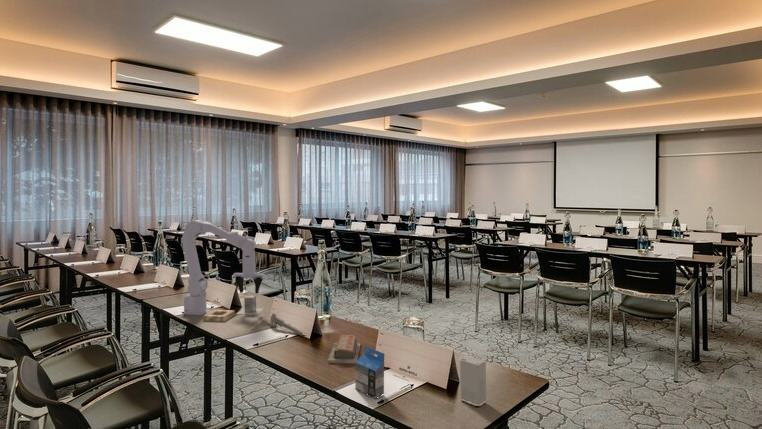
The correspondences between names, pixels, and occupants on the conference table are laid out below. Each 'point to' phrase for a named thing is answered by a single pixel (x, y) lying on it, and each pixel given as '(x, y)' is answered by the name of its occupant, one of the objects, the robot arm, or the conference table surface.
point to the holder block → (219, 315)
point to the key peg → (250, 303)
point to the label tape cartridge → (370, 373)
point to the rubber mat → (249, 312)
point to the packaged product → (345, 350)
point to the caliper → (282, 324)
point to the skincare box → (473, 380)
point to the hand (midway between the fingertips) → (249, 292)
